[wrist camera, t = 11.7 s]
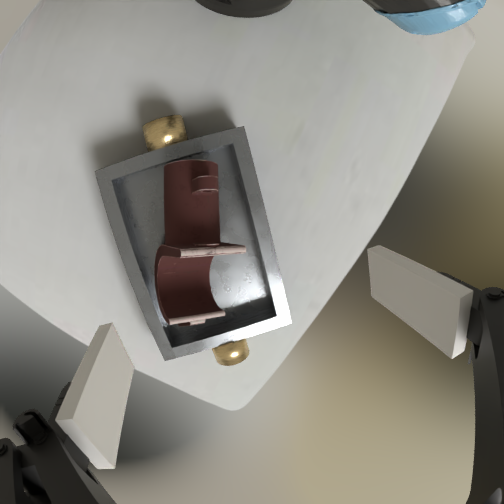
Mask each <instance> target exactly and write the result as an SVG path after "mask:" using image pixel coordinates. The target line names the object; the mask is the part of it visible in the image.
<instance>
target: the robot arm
mask: <svg viewBox="0 0 504 504" xmlns="http://www.w3.org/2000/svg"><path fill="white" fill-rule="evenodd" d="M196 1H197V2H198V3H200V4H201V5H203V6H204V7H206V8H208V9H210V10H212V11H215V12H217V13H220V14H224V15H228V16H234V17H244V18H251V17H261V16H266V15H270V14H273V13H276V12H278V11H280V10H282V9H283V8H285V7H286V6H287V5H288V4H290V2H291V1H292V0H196ZM363 1H364V2H365V3H367V4H368V5H370V6H371V7H372V8H373V9H374V10H375V11H376V12H377V13H378V14H380V15H383V16H385V17H387V18H388V19H389V20H391V21H392V22H393V23H395V24H396V25H397V26H399V27H400V28H401V29H403V30H405V31H407V32H409V33H412V34H418V35H419V34H422V35H432V34H437V33H441V32H445V31H448V30H450V29H453V28H455V27H457V26H460V25H461V24H463V23H465V22H467V21H468V20H470V19H471V18H473V17H474V16H475V15H476V14H477V13H478V9H480V8H483V6H484V5H485V3H486V0H363ZM367 250H368V260H369V271H370V284H371V296H372V297H373V298H374V299H376V300H377V301H378V302H380V303H381V304H382V305H383V306H385V307H386V308H387V309H389V310H390V311H391V312H393V313H394V314H395V315H397V316H398V317H399V318H400V319H402V320H403V321H405V322H406V323H407V324H408V325H410V326H411V327H412V328H413V329H415V330H416V331H417V332H418V333H420V334H421V335H422V336H424V337H425V338H426V339H427V340H429V341H430V342H431V343H433V344H434V345H435V346H436V347H438V348H439V349H440V350H441V351H442V352H444V353H445V354H446V355H447V356H449V357H450V358H451V359H453V358H454V357H456V356H457V355H459V354H460V353H462V352H463V351H464V349H465V345H466V340H467V338H468V339H469V340H470V341H472V347H471V352H470V356H469V361H468V364H470V363H471V360H472V363H473V373H474V389H475V450H474V465H473V475H472V484H471V491H470V495H469V498H468V500H467V502H466V504H504V290H503V289H500V288H497V287H489V288H485V289H483V290H482V291H481V290H479V289H477V288H475V287H473V286H471V285H469V284H467V283H465V282H463V281H462V282H461V280H459V279H457V278H454V277H453V276H451V275H449V274H446V273H442V272H437V271H433V270H431V269H429V268H427V267H425V266H423V265H421V264H419V263H417V262H415V261H413V260H411V259H408V258H406V257H404V256H402V255H400V254H398V253H395V252H393V251H391V250H389V249H387V248H385V247H382V246H380V245H378V246H375V247H372V248H369V249H367ZM133 371H134V365H133V363H132V361H131V359H130V357H129V356H128V354H127V352H126V350H125V348H124V346H123V343H122V341H121V339H120V337H119V335H118V333H117V331H116V329H115V327H114V324H113V323H109V324H105V325H101V326H99V328H98V330H97V332H96V333H95V335H94V337H93V339H92V341H91V343H90V345H89V347H88V349H87V352H86V353H85V355H84V357H83V359H82V361H81V364H80V365H79V368H78V370H77V372H76V374H75V376H74V378H73V380H72V382H69V383H68V384H67V385H66V386H65V387H64V388H63V390H62V391H61V393H60V395H59V397H58V398H59V399H58V400H57V402H56V404H55V405H56V406H55V407H54V408H53V411H52V413H51V415H50V418H49V420H48V422H47V421H46V420H45V419H44V418H43V416H42V415H41V414H40V412H39V411H38V410H35V409H30V410H27V411H25V412H23V413H22V414H21V415H19V416H18V417H17V418H16V420H15V422H14V424H13V430H14V431H15V432H16V434H17V435H18V436H19V437H20V438H21V439H22V441H23V442H24V443H25V444H24V445H21V446H17V447H16V446H15V444H14V443H13V442H12V441H11V440H10V439H8V438H3V439H0V504H116V503H115V501H114V500H113V499H112V498H111V496H110V495H109V494H108V493H107V491H106V490H105V489H104V488H103V486H102V485H101V484H100V482H99V481H98V480H97V478H96V477H95V476H94V474H93V473H92V472H91V471H90V470H89V469H88V463H89V460H90V461H91V462H92V463H93V465H95V466H96V468H98V469H113V468H115V464H116V457H117V451H118V445H119V440H120V434H121V428H122V423H123V418H124V413H125V408H126V403H127V398H128V393H129V389H130V384H131V380H132V376H133Z"/></svg>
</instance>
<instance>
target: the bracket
mask: <svg viewBox="0 0 504 504" xmlns="http://www.w3.org/2000/svg"><path fill="white" fill-rule="evenodd" d="M164 227H165V244H164V245H160V246H159V248H158V250H157V252H156V257H155V265H154V278H155V289H156V295H157V300H158V304H159V308H160V311H161V313H162V316H163V318H164V319H165V321H166V322H167V323H168V324H169V325H171V324H178V325H179V326H180V327H182V326H190V325H196V324H202V323H205V320H206V319H209V318H214V317H220V316H225V311H224V310H222V309H221V308H220V307H219V306H218V305H217V303H216V302H215V300H214V297H213V294H212V291H211V286H210V266H211V262H212V259H213V257H214V256H216V255H230V254H243V253H246V246H245V245H238V244H231V243H224V242H221V241H220V215H219V182H218V164H217V163H215V162H212V161H207V160H181V161H175V162H171V163H168V164H166V165H165V166H164Z"/></svg>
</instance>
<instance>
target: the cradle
mask: <svg viewBox="0 0 504 504" xmlns="http://www.w3.org/2000/svg"><path fill="white" fill-rule="evenodd" d="M142 129H143V133H144V137H145V141H146V145H147V149H148V152H147V153H144V154H141V155H138V156H136V157H133V158H130V159H127V160H124V161H121V162H118V163H116V164H113V165H110V166H108V167H105V168H102V169H100V170H97V171H95V173H96V177H97V181H98V184H99V188H100V192H101V195H102V199H103V202H104V206H105V209H106V212H107V215H108V219H109V222H110V225H111V228H112V231H113V234H114V237H115V240H116V243H117V246H118V249H119V252H120V255H121V258H122V260H123V263H124V266H125V269H126V271H127V274H128V277H129V279H130V282H131V284H132V287H133V289H134V292H135V294H136V297H137V299H138V302H139V304H140V307H141V309H142V311H143V314H144V316H145V318H146V321H147V323H148V325H149V328H150V330H151V332H152V334H153V337H154V339H155V341H156V343H157V345H158V347H159V350H160V352H161V354H162V356H163V358H164V360H165V361H166V360H170V359H174V358H178V357H182V356H186V355H189V354H193V353H197V352H200V351H204V350H207V349H211V348H212V350H213V353H214V355H215V358H216V360H217V362H218V363H219V364H221V365H225V366H230V365H235V364H238V363H240V362H242V361H243V360H245V359H246V358H247V357H248V355H249V348H248V345H247V342H246V339H245V338H248V337H251V336H254V335H257V334H260V333H263V332H266V331H269V330H272V329H276V328H278V327H281V326H284V325H287V324H290V323H292V322H291V318H290V313H289V309H288V304H287V300H286V295H285V291H284V287H283V282H282V278H281V274H280V269H279V265H278V261H277V257H276V252H275V248H274V244H273V240H272V236H271V232H270V227H269V223H268V219H267V215H266V211H265V207H264V203H263V199H262V195H261V191H260V187H259V183H258V179H257V175H256V171H255V167H254V163H253V159H252V155H251V151H250V147H249V144H248V140H247V136H246V132H245V128H244V126H242V127H238V128H233V129H229V130H225V131H221V132H217V133H213V134H209V135H205V136H201V137H198V138H194V139H190V140H188V138H187V134H186V130H185V126H184V122H183V118H182V116H181V115H172V116H166V117H163V118H159V119H156V120H153V121H151V122H149V123H147V124H145V125H144V126H143V127H142ZM181 160H207V161H212V162H215V163H217V164H218V182H219V215H220V241H221V242H224V243H231V244H238V245H245V246H246V253H243V254H230V255H216V256H214V257H213V259H212V262H211V266H210V286H211V291H212V294H213V297H214V300H215V302H216V303H217V305H218V306H219V307H220V308H221V309H222V310H224V311H225V316H220V317H214V318H209V319H206V320H205V323H202V324H196V325H190V326H182V327H180V326H179V325H178V324H171V325H169V324H168V323H167V322H166V321H165V319H164V318H163V316H162V313H161V311H160V308H159V304H158V300H157V295H156V289H155V278H154V265H155V257H156V252H157V250H158V248H159V246H160V245H164V244H165V227H164V166H165V165H166V164H168V163H171V162H175V161H181Z"/></svg>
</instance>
